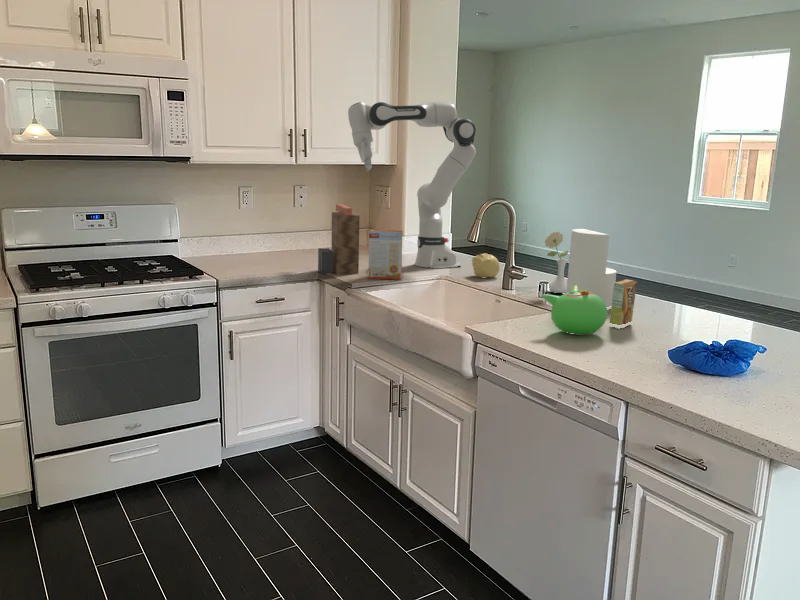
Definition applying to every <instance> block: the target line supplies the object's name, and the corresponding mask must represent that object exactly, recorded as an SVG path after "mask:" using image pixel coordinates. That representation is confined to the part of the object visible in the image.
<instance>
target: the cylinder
mask: <svg viewBox="0 0 800 600" xmlns="http://www.w3.org/2000/svg"><path fill="white" fill-rule="evenodd" d="M609 242H610V234H608V233H604V232H599V231H595V230H590V229H586V228H573V229H571V237H570V246H569V247H570V248H569V258H568V269H567V270H568V272H567V280H566V281H567V291H566V293H568V292H570V291H571V289H572V288H573V286H575V285H577V286H578V288H579V290H583V291H589V292H591V293H593V294H595V295H597V296H599V297H600V298H601V299H602V300H603V302H604V303H605V305H606V307H609V306H612V298H613V289H614V283H615V282H617V281H616V280H617V279H616V278H617V270H616V269H614V268H610V267H607V263H608V253H609V246H610V245H609Z"/></svg>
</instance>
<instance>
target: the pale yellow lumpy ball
mask: <svg viewBox="0 0 800 600" xmlns="http://www.w3.org/2000/svg"><path fill="white" fill-rule="evenodd" d="M471 265H472V268H473V274H474V275H475V276H476V277H478V276H479V277H478V278H480V277H490V278H494V277H496V276H498V274H499V271H500V262H499V260H498V258H497V257H496V256H494V255H493V254H488V253H485V252H484V253H480V254H477V255H475V256H473V257H472V258H471Z"/></svg>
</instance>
